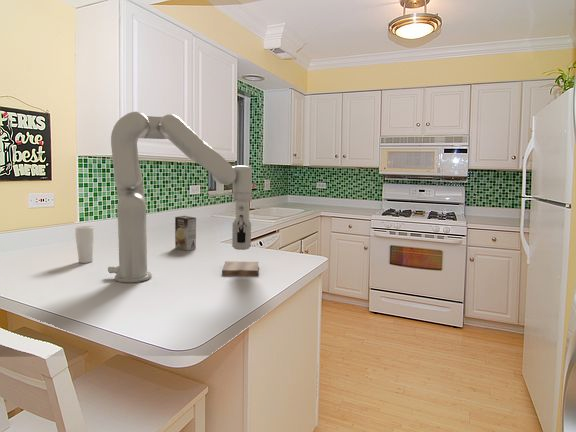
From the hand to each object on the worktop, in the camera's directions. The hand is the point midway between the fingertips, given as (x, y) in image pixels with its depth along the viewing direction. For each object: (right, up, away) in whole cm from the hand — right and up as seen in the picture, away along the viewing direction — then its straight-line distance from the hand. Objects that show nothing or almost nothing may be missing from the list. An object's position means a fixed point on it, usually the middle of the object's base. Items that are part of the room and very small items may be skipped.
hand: (241, 240), depth 156 cm
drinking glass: (-67, -10, +8) cm, 68 cm away
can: (0, -3, 0) cm, 3 cm away
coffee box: (-33, -7, +40) cm, 52 cm away
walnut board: (0, -12, +2) cm, 13 cm away
